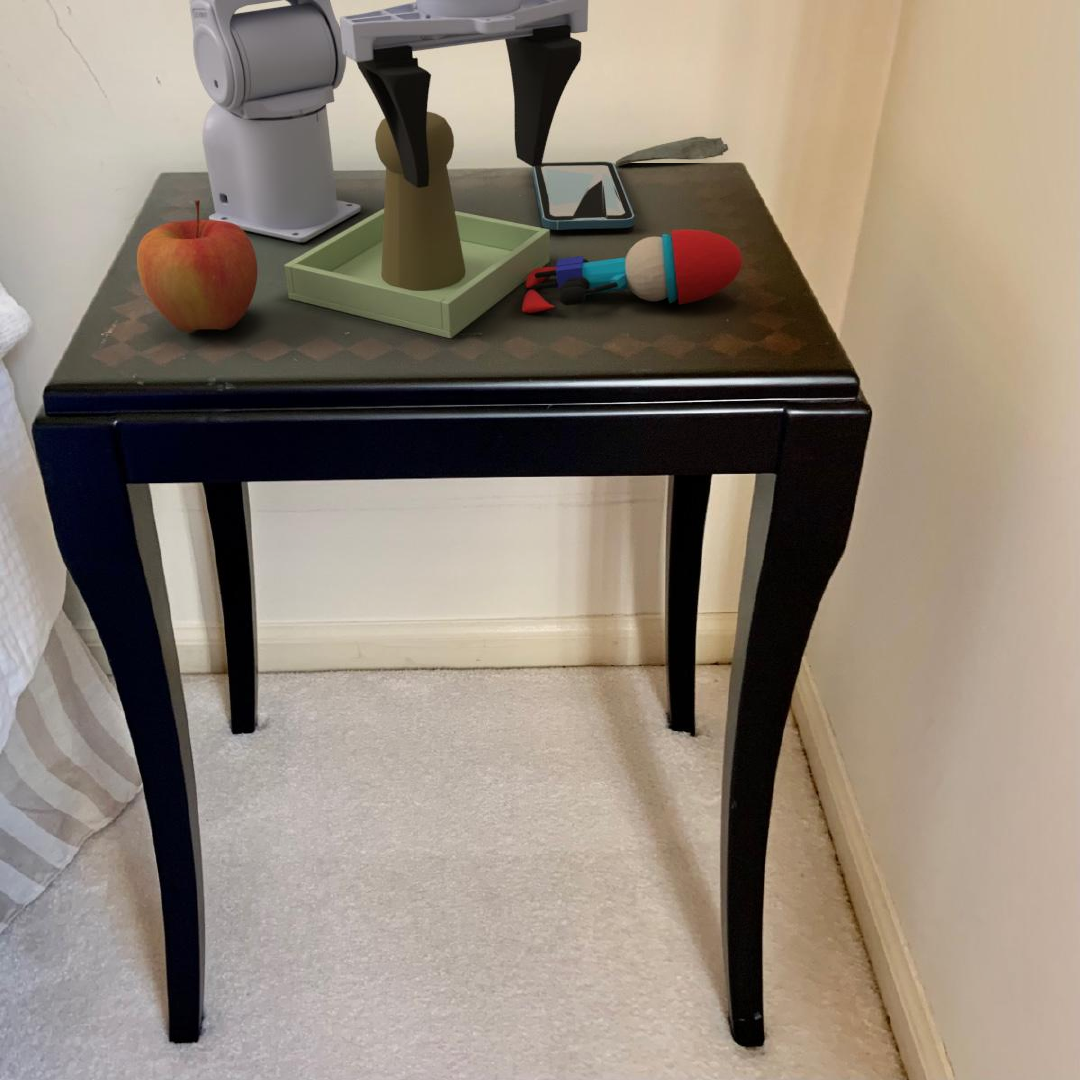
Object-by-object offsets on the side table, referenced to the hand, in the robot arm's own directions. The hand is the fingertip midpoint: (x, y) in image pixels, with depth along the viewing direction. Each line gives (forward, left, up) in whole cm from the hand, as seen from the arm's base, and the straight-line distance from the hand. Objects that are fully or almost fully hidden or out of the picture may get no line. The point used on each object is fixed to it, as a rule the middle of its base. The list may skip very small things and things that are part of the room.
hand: (474, 171), depth 66 cm
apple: (-16, -8, -11) cm, 21 cm away
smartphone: (-4, +24, -10) cm, 27 cm away
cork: (-8, +5, -10) cm, 13 cm away
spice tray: (-8, +5, -10) cm, 14 cm away
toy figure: (+7, +9, -11) cm, 16 cm away
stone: (0, +37, -10) cm, 38 cm away
